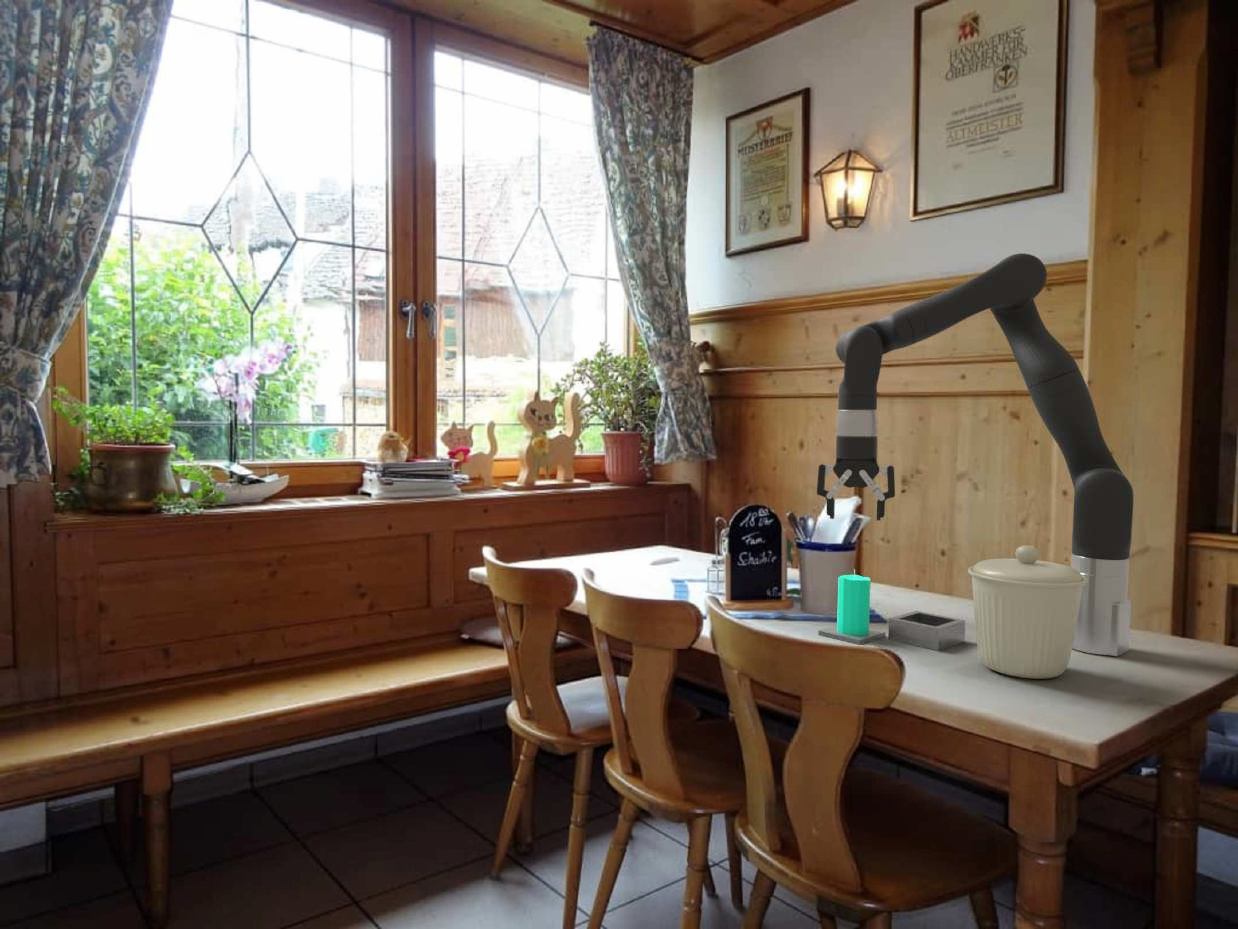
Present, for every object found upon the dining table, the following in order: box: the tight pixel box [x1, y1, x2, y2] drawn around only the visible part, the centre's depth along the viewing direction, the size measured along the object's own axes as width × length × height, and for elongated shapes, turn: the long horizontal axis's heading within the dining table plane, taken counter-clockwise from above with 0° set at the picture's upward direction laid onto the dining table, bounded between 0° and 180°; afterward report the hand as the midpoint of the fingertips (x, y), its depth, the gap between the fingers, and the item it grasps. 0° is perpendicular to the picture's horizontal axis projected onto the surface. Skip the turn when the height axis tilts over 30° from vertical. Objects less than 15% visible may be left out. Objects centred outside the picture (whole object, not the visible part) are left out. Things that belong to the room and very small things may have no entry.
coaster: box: [817, 625, 887, 645], centre depth 166 cm, size 9×9×1 cm
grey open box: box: [887, 610, 966, 651], centre depth 163 cm, size 10×10×4 cm
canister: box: [967, 545, 1088, 680], centre depth 144 cm, size 18×18×21 cm
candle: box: [836, 568, 871, 635], centre depth 165 cm, size 6×6×12 cm
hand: (855, 519), depth 164 cm, fingers open, 8 cm apart
